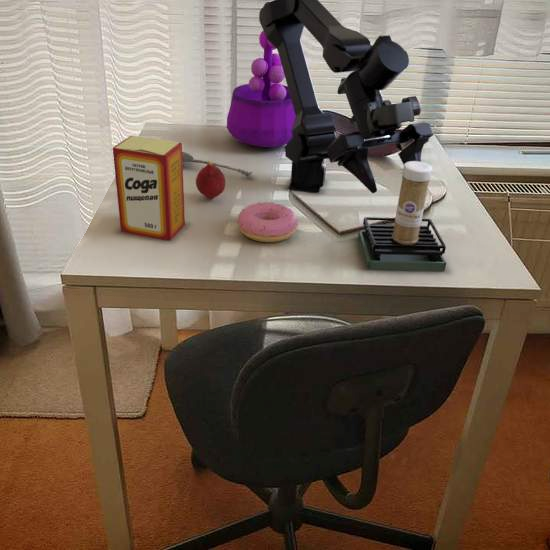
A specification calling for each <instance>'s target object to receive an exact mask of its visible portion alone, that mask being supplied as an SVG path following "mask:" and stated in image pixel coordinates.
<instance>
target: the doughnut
mask: <svg viewBox="0 0 550 550" xmlns="http://www.w3.org/2000/svg"><path fill="white" fill-rule="evenodd" d="M236 221H237V225H238V229H239V231H240V232H241V233H242V234H243V235H244V236H245V237H246V238H248V239H250V240H253V241H255V242H261V243H278V242H282V241H285V240H287V239H289V238H290V237H292V236H293V235H294V234H295V232H296V231H297V227H298V225H299V222H298V218H297V214H296V213H295V212H294V211H293V210H292V209H291V208H290V207H288V206H286V205H284V204H281V203H276V202H267V201H266V202H256V203H252V204H250V205H248V206H245V208H243V209H241V211H240V212H239V214H237V219H236Z"/></svg>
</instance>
